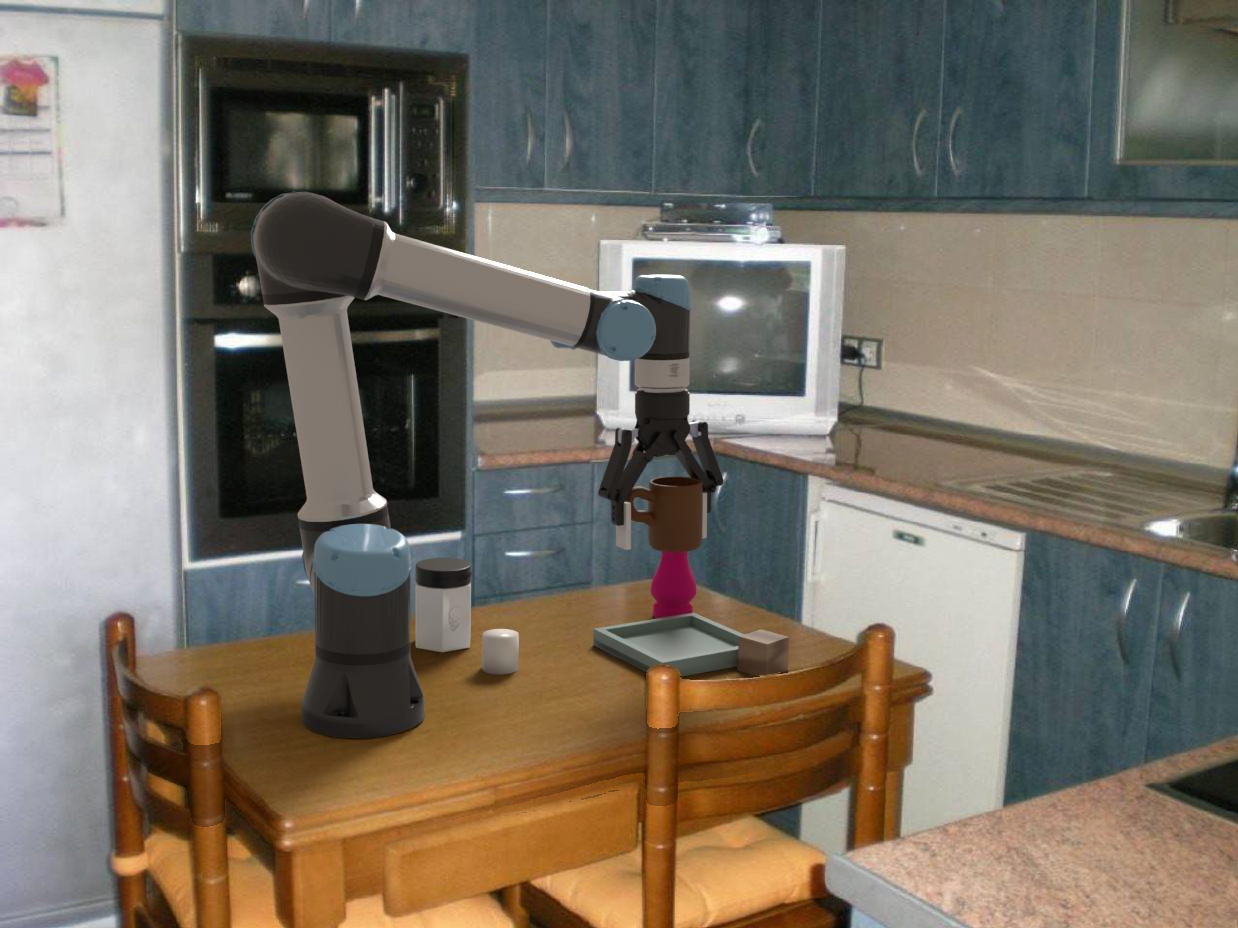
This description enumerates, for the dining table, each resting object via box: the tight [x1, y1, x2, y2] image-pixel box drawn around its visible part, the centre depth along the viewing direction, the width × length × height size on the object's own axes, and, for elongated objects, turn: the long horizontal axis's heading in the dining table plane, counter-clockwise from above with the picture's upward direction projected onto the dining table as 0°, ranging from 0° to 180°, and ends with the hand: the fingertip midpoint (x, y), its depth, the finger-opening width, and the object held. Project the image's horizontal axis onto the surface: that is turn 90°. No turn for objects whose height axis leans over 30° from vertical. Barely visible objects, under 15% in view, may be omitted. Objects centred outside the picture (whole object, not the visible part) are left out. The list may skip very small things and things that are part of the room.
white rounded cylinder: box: [481, 628, 520, 675], centre depth 200 cm, size 5×5×5 cm
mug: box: [626, 475, 703, 553], centre depth 201 cm, size 12×8×9 cm, turn 116°
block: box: [736, 629, 790, 677], centre depth 202 cm, size 5×5×5 cm
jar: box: [414, 557, 473, 653], centre depth 210 cm, size 9×8×12 cm
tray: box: [592, 612, 744, 678], centre depth 209 cm, size 18×18×2 cm
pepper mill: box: [650, 551, 697, 619], centre depth 226 cm, size 7×7×20 cm
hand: (661, 542), depth 201 cm, fingers closed on mug, 12 cm apart
